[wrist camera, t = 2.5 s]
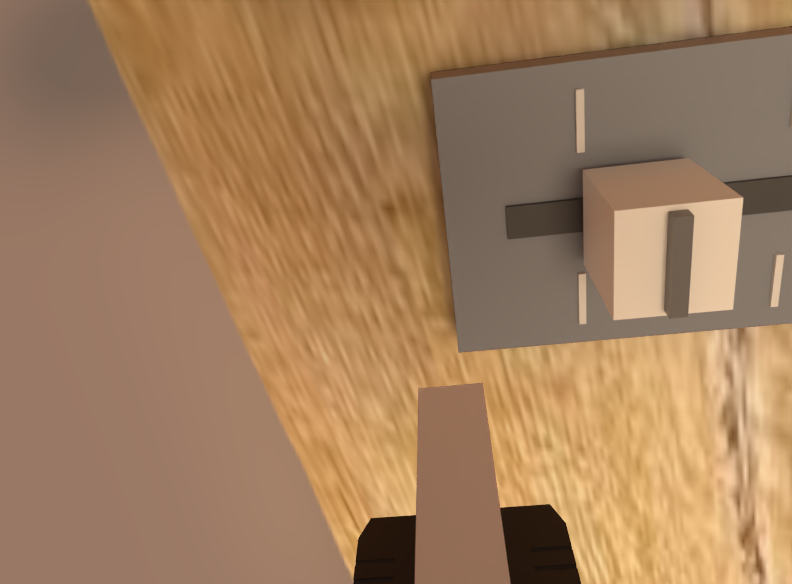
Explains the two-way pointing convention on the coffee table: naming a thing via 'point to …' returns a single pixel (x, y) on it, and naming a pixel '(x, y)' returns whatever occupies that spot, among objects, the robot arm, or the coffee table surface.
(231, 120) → the coffee table surface
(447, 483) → the robot arm
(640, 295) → the fader knob
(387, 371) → the coffee table surface
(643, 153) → the console board
